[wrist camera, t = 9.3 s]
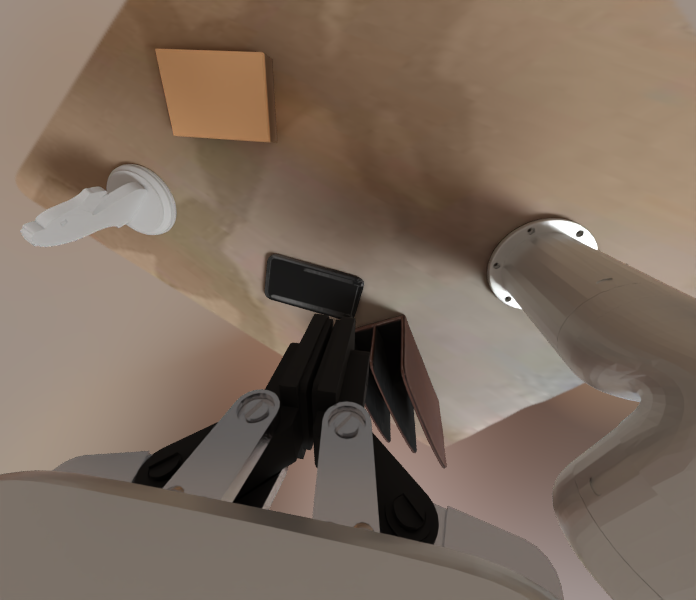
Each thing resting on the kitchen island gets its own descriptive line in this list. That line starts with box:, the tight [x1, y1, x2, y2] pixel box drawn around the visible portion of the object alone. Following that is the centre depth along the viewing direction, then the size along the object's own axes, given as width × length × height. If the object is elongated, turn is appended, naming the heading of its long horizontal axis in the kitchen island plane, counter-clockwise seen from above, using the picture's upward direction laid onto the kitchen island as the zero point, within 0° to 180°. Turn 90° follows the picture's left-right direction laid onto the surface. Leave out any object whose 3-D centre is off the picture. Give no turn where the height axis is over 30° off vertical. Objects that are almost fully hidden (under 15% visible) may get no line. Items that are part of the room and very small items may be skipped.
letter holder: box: [354, 315, 447, 468], centre depth 43 cm, size 10×20×14 cm, turn 24°
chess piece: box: [20, 164, 176, 247], centre depth 34 cm, size 10×10×15 cm
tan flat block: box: [155, 49, 277, 143], centre depth 32 cm, size 3×8×12 cm
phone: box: [265, 254, 364, 319], centre depth 43 cm, size 8×1×15 cm
